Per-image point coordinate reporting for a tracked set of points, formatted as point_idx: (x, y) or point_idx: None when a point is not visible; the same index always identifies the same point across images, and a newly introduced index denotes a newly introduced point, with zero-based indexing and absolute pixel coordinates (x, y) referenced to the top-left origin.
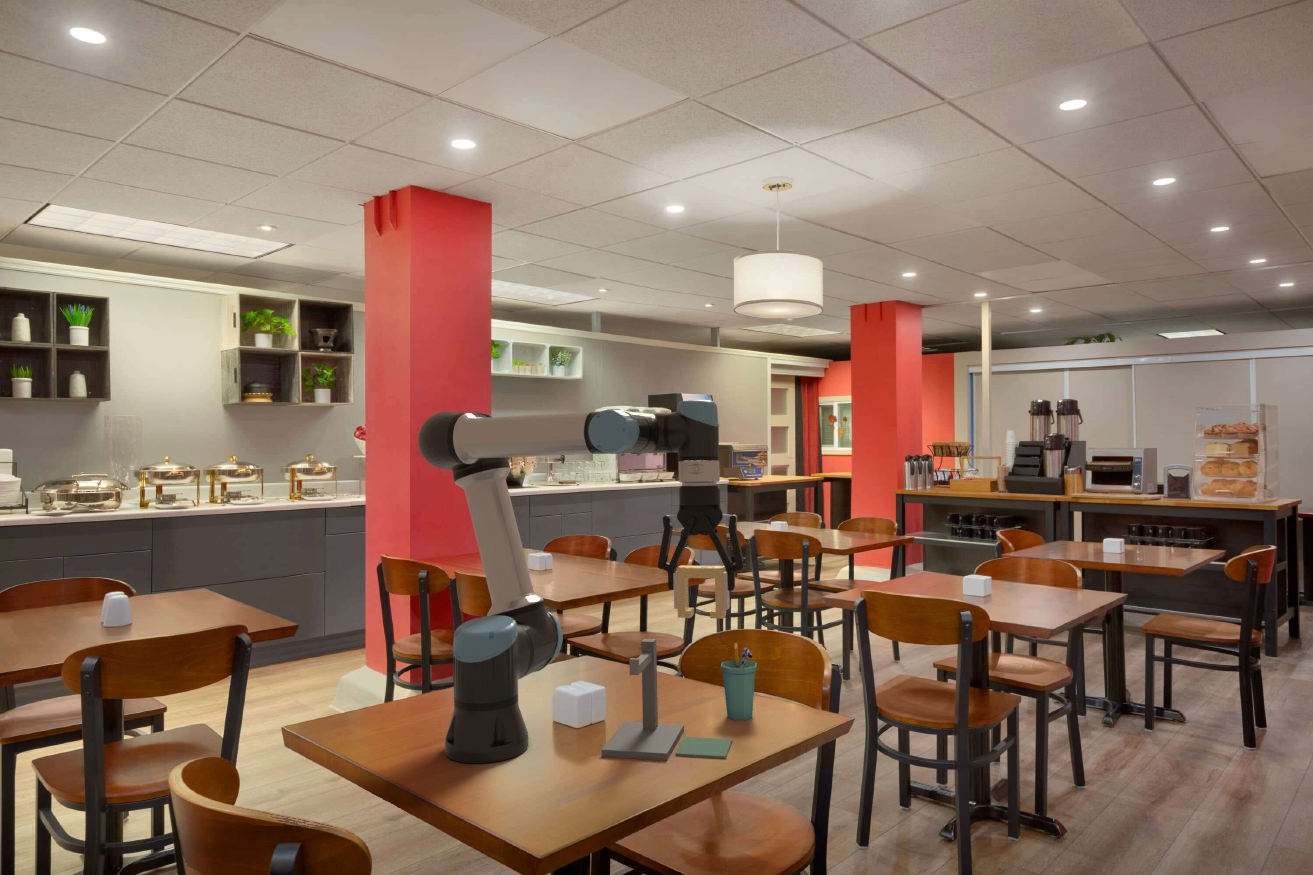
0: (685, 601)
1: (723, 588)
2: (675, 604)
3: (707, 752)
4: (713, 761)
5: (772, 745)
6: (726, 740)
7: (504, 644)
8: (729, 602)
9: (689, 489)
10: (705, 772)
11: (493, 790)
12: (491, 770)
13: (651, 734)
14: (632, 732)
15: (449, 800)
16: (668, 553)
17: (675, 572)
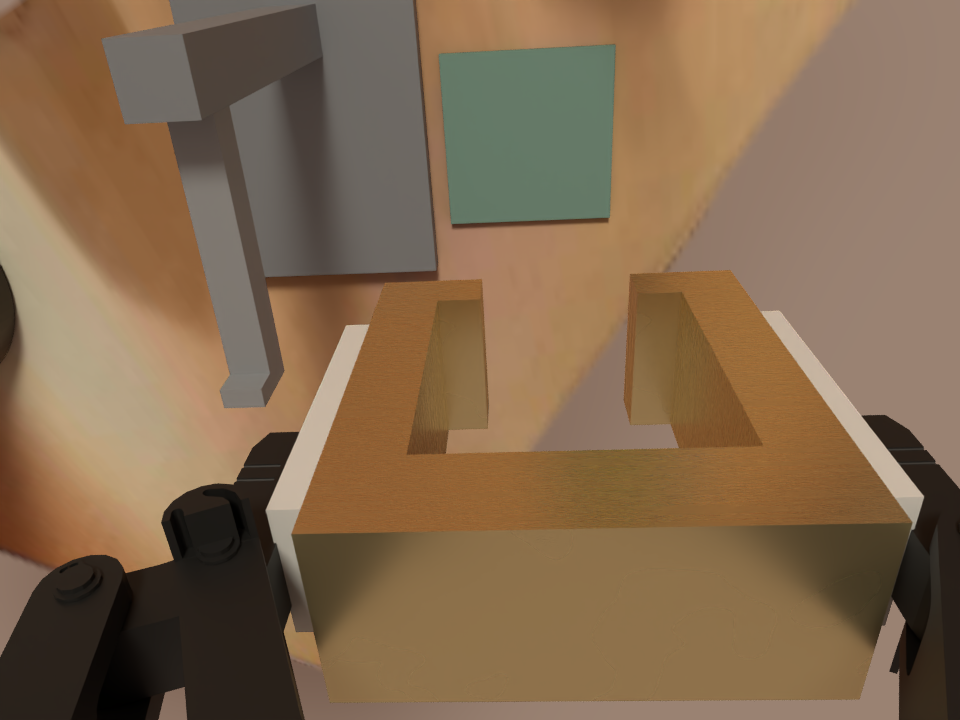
0: (442, 451)
1: None
2: None
3: (548, 196)
4: (574, 243)
5: (761, 55)
6: (596, 63)
7: None
8: (791, 333)
9: None
10: (564, 324)
11: (116, 504)
12: (26, 412)
13: (327, 106)
14: (253, 100)
15: (68, 555)
16: (77, 717)
17: (299, 594)
